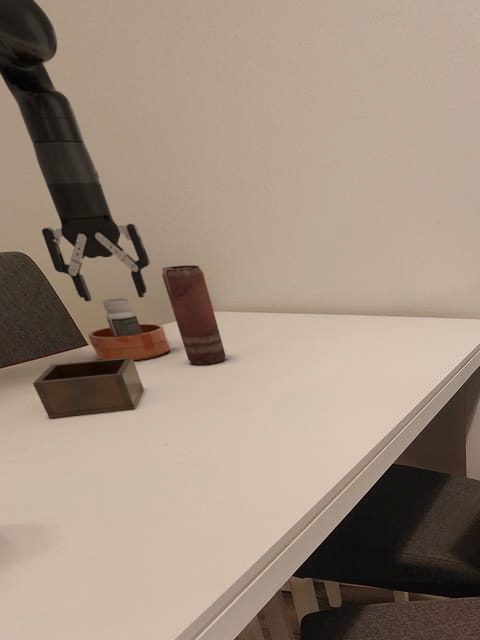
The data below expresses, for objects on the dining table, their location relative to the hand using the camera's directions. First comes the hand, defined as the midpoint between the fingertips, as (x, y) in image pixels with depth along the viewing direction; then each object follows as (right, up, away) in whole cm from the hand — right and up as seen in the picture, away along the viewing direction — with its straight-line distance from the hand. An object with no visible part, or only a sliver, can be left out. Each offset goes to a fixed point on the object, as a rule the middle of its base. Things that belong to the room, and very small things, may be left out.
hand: (115, 298), depth 102 cm
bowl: (0, -7, +6) cm, 9 cm away
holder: (+9, -26, -18) cm, 33 cm away
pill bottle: (0, -7, +5) cm, 9 cm away
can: (+16, -11, 0) cm, 19 cm away
